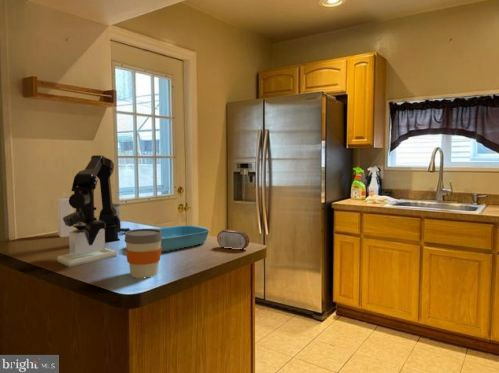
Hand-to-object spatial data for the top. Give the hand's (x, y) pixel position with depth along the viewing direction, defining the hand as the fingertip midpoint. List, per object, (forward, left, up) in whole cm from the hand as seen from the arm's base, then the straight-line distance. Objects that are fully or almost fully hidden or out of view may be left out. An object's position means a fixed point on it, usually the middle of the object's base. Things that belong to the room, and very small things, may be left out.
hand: (87, 244), depth 151 cm
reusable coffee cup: (-4, +33, -6) cm, 34 cm away
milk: (-13, -50, -6) cm, 52 cm away
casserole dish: (-37, +6, -7) cm, 38 cm away
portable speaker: (-51, +31, -6) cm, 60 cm away
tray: (0, 0, -6) cm, 6 cm away
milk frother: (-35, -39, -6) cm, 53 cm away
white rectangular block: (0, 0, -2) cm, 2 cm away
